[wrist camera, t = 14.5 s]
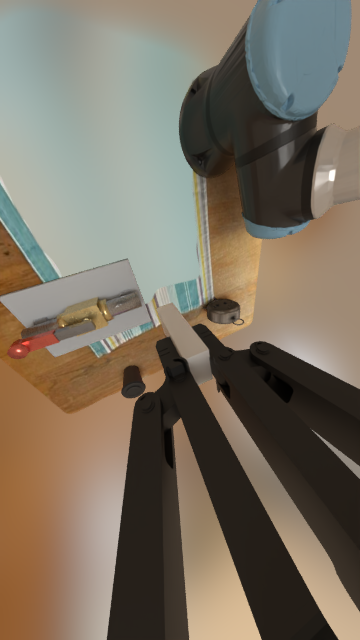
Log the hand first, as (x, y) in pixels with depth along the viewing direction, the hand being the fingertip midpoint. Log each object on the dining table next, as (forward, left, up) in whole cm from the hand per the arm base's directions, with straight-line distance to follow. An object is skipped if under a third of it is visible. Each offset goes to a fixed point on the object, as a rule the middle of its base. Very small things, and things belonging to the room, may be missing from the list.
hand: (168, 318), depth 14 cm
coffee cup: (+39, -15, -35) cm, 54 cm away
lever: (+10, -22, -27) cm, 36 cm away
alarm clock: (+23, +23, -35) cm, 47 cm away
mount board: (+10, -16, -34) cm, 39 cm away
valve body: (+10, -16, -33) cm, 38 cm away
